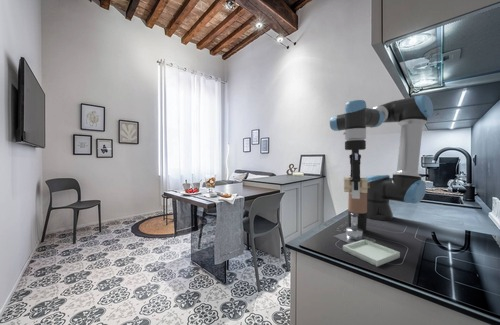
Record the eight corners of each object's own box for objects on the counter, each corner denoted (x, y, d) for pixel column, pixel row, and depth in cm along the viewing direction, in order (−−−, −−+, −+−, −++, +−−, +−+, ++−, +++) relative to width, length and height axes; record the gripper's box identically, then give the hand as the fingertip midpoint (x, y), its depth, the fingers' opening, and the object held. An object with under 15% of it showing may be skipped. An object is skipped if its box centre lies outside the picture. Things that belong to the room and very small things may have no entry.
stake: (351, 232, 93) (351, 208, 92) (375, 241, 83) (376, 215, 82) (333, 237, 88) (333, 212, 87) (357, 247, 78) (357, 219, 77)
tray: (364, 243, 81) (364, 239, 81) (399, 257, 70) (399, 252, 70) (342, 250, 75) (342, 245, 75) (377, 266, 64) (377, 260, 64)
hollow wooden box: (343, 188, 90) (343, 177, 90) (368, 189, 86) (368, 177, 86) (344, 191, 82) (344, 179, 82) (371, 193, 79) (371, 180, 79)
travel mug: (369, 233, 91) (369, 188, 91) (350, 232, 93) (351, 187, 92) (363, 227, 99) (364, 185, 98) (346, 226, 100) (346, 185, 100)
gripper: (344, 141, 95) (344, 191, 96) (345, 138, 76) (345, 200, 77) (362, 141, 92) (362, 192, 93) (369, 137, 73) (368, 202, 74)
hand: (354, 196), depth 85 cm, fingers closed on hollow wooden box, 8 cm apart
